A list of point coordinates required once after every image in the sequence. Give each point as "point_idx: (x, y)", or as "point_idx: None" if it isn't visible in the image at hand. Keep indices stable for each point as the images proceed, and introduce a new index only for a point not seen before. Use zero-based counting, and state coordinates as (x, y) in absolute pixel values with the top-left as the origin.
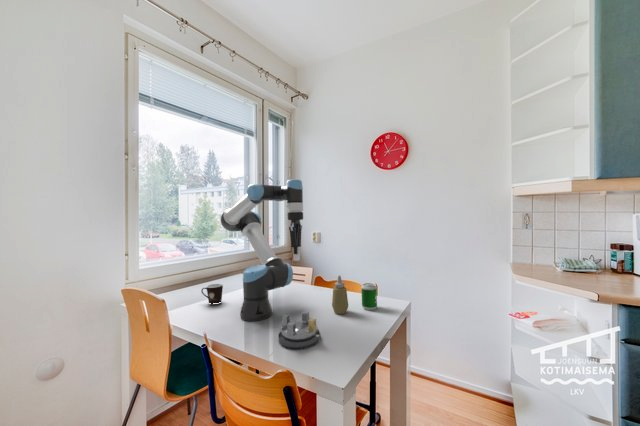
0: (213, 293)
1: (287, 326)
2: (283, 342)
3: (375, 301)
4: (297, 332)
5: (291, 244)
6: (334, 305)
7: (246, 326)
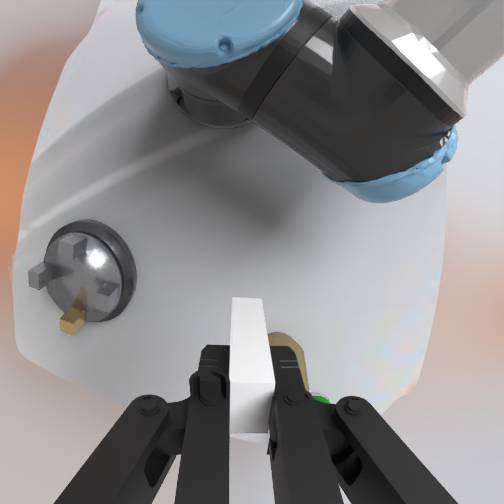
0: None
1: (31, 269)
2: (47, 247)
3: None
4: (58, 282)
5: (125, 414)
6: None
7: (134, 90)
